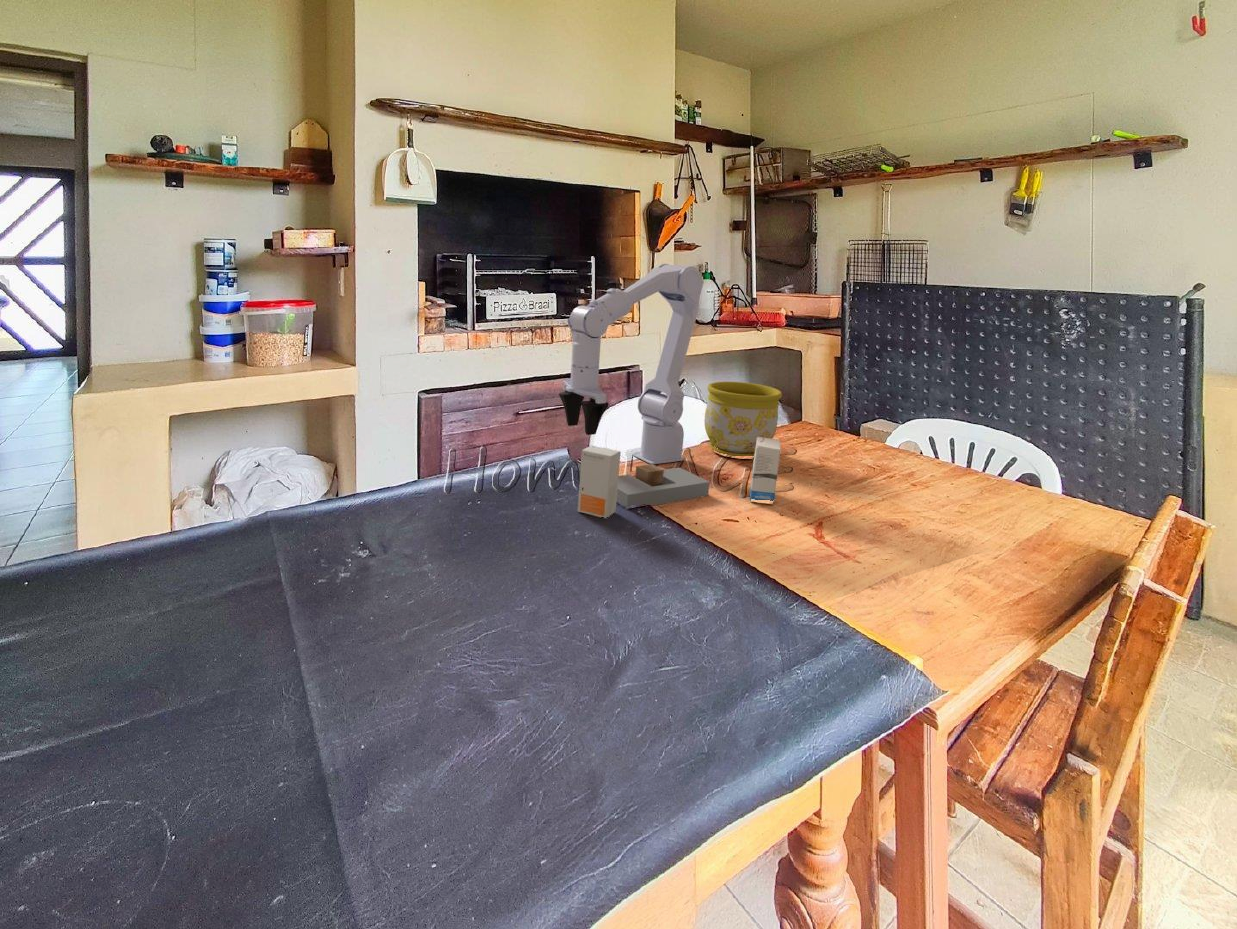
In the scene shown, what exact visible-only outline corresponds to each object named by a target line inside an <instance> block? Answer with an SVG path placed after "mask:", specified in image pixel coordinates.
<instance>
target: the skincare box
mask: <svg viewBox="0 0 1237 929" xmlns="http://www.w3.org/2000/svg"><path fill="white" fill-rule="evenodd" d="M621 452H622V451H620V450H616V449H612V448H611V449H610V448H607V447H601V446H597V445H590V446H587V447H586V448H583V449H582V450H581V454H580V455H581V456H580V457H581V459H580V460H581V461H580V471H579V473H580V474H579V486H578V501H577V502H578V503H577V512H578V513H583V514H587V515H589V516H590V515H591V516H594V517H597V518H601V517H604V518H606V517H608V518H609V517H611V516H612V515H613V514H612V513H614V512H615V513H616V512H617V511H616V510H617V503H616V500H617V488H618V476H620V475H619V474H620V473H619V472H620V463H621ZM615 513H614V514H615ZM611 514H612V515H611ZM610 515H611V516H610ZM604 518H603V519H604Z"/></svg>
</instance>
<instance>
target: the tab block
mask: <svg viewBox="0 0 1237 929" xmlns="http://www.w3.org/2000/svg"><path fill="white" fill-rule="evenodd" d="M664 470H665V469H663V468H661V467H659V466H657V465H656V464H643V465H636V467H635V476H634V477H635V478H637V479H639V480H640V481H642V482H644V483H646V484H648V485H650V486H652V487H654V486H660V485H662V484H663V474H664Z"/></svg>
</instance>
